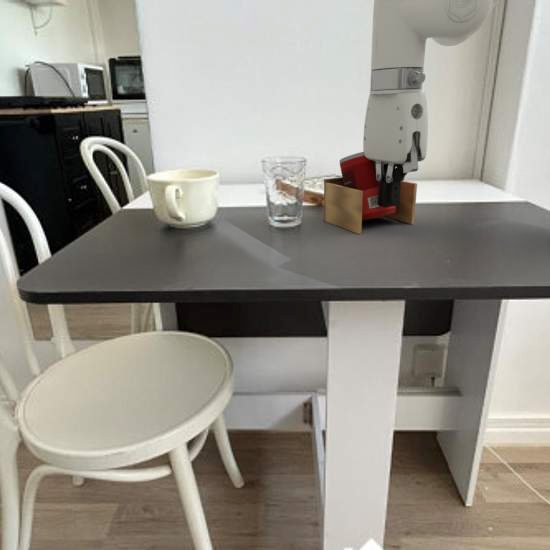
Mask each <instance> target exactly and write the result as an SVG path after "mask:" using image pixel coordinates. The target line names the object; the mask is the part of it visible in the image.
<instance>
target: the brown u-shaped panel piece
mask: <svg viewBox="0 0 550 550" xmlns="http://www.w3.org/2000/svg"><path fill="white" fill-rule="evenodd" d="M417 191H418V182H412V181H407V180H403V181H401V187H400V201H399V205H398V206H396V211H395V213H393V214H389V215H385V216H384V217H387V218H390V219H393V220H396V221H399V222H403V223H406V224H408V225H409V224H410V225H414V224H415V217H416V216H415V215H416V204H417ZM362 201H363V191H361V190H356V189H352V188H348V187H344V182H343V178H342V176H338V177H330V178H323V222H327V223H328V224H332V225H334V226H336V227H339V228H342V229H344V230H346V231H349V232H352V233H355V234H358V235H362V227H363V225H362V224H363V223H362V222H363V221H362Z"/></svg>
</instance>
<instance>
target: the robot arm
mask: <svg viewBox="0 0 550 550" xmlns="http://www.w3.org/2000/svg"><path fill="white" fill-rule="evenodd" d="M500 1H501V0H373V9H372V10H373V11H372V32H371V33H372V34H371V57H370V59H371V60H370V80H369V81H370V82H369V95H368V100H367V104H366V110H365V119H364V124H363V125H364V127H363V139H362V140H363V141H362V142H363V143H362V146H363V147H362V150H363V151H362V152H364V155H365V157H366V158H368V159H369V160H374V170H375V172H376V179H377V180H378V181H379V189H378V206H382V207H385V208H386V207H392V206H398V205H399V201H400V187H401V181H405V178H406V176H407V174H408V173H414V172H415V173H416V172H417V171H418V170H419V162H423V161H424V160H425V159H426V157H427V152H428V151H427V150H428V133H429V115H428V114H429V113H428V101H427V95H426V92H423V83H424V82H425V80H426V74H425V73H424V70H425V69H424V68H425V67H424V66H425V57H426V44H427V39H432V40H433V41H434V42H435V43H436V44H438V45H440V46H444V47H454V46H457V45H460V44H462V43H464V42H466V41H467V40H468V39H470V37H472V36H473V35H474V34H475V33H477V32H478V31H479V30H480V29H481V28H482V27H483V26H484V24H485V23H486V22H487V20H488V18H489V16H490V14H491V13H492V10H493V9H494V8H495V7H496V6H497V5H498V3H499V2H500Z"/></svg>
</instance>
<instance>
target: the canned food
mask: <svg viewBox="0 0 550 550" xmlns="http://www.w3.org/2000/svg"><path fill="white" fill-rule="evenodd" d="M339 168H340V172H341V177H342V178H343V182H344V187H348V188H352V189H356V190H361V191H363V201H362V222H363V221H367V220H372V219H376V218H380V217H386V216H385V215H389V214H393V213H395V211H396V206H392V207H386V208H385V207H382V206H378V189H379V181H378V180H377V179H376V172H375V170H374V160H369V159H368V158H366V157H365V155H364V151H360V152H356V153H353V154H350V155H347V156H345V157H342V158H340V159H339Z"/></svg>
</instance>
